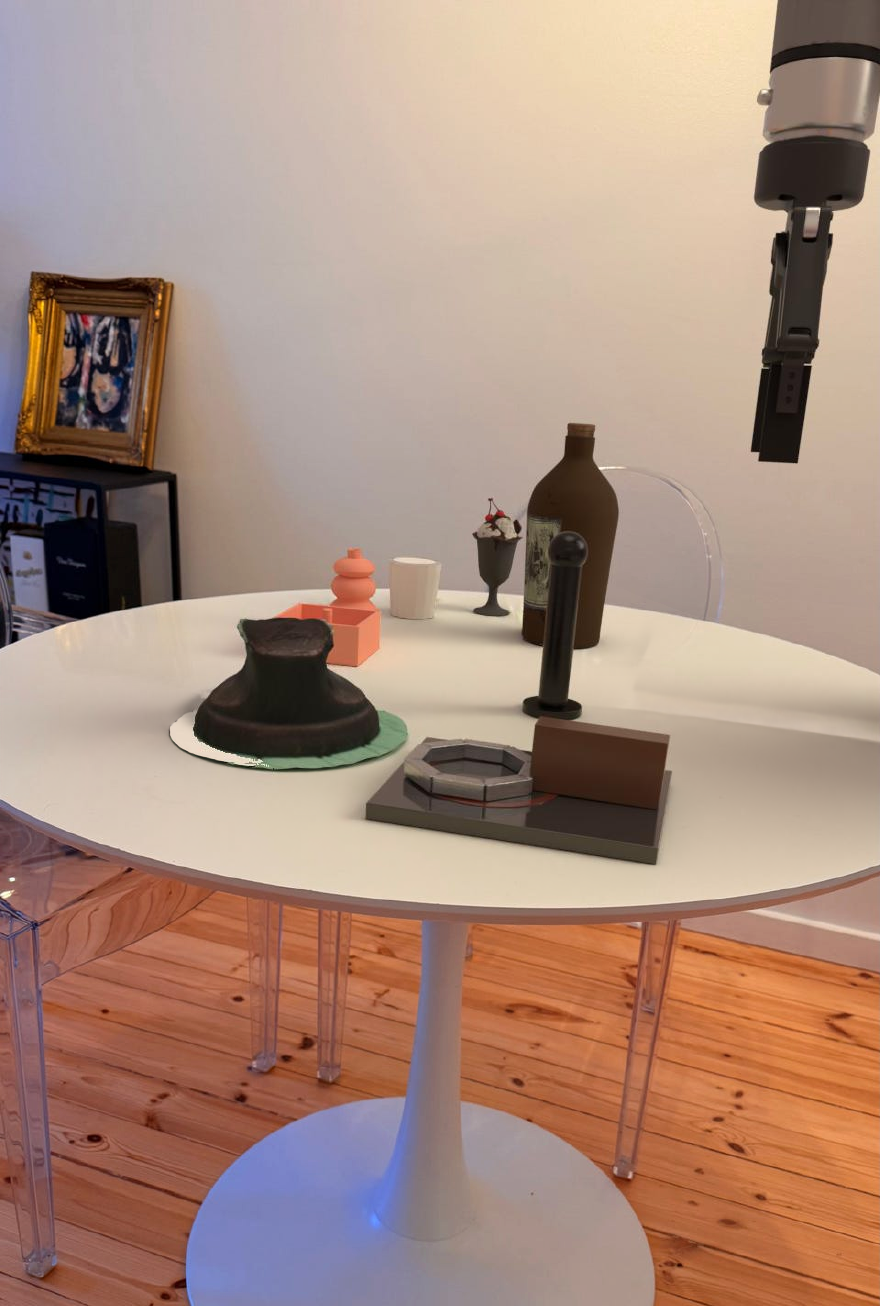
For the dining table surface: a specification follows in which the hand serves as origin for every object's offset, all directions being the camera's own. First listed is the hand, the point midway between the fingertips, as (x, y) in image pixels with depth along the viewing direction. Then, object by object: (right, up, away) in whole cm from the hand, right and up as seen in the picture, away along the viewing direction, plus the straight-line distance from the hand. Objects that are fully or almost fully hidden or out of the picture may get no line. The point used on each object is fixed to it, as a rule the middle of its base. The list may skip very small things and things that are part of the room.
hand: (772, 457), depth 84 cm
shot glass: (-29, -4, +57) cm, 64 cm away
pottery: (-37, -10, +39) cm, 55 cm away
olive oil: (-11, -8, +48) cm, 50 cm away
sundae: (-19, -3, +61) cm, 64 cm away
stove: (-19, -27, -4) cm, 33 cm away
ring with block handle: (-19, -25, -4) cm, 32 cm away
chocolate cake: (-38, -21, +9) cm, 45 cm away
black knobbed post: (-15, -18, +19) cm, 30 cm away
